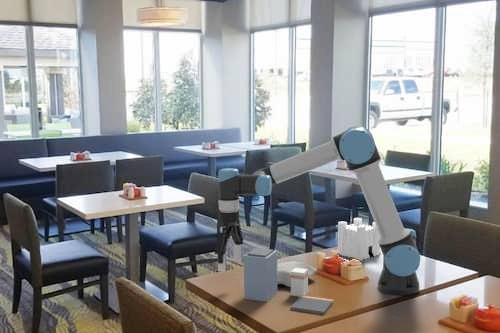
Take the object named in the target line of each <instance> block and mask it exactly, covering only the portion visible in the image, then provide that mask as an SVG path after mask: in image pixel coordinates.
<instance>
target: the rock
mask: <svg viewBox="0 0 500 333" xmlns="http://www.w3.org/2000/svg"><path fill="white" fill-rule="evenodd" d="M294 268H302V269H308V277H310V276H313V275H315V274H316V273H317V271H318V269H317V268H315V267H313V266H311V265H310V264H306V263H304V262H299V261H293V260H291V261H287V262H280V263H277V285H284V286H286V287H290V288H291V278H290V275H291V271H292V270H293V269H294Z"/></svg>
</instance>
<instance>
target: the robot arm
mask: <svg viewBox="0 0 500 333" xmlns="http://www.w3.org/2000/svg"><path fill="white" fill-rule="evenodd" d="M381 160H382V158H381V155H380V153H379V150H378V148H377V146H376V142H375V139H374V136H373V134H372V132H371V131H370V130H369V129H367V128H366V127H364V126H361V125H360V126H359V125H355V126H352V127H349V128H348V129H346V130H344V131H343V132H341V133H339V134H337V135H335V136H332V137H331V140H330V141H328V142H325V143H324V142H323V144H320V145H318V146H315V147H312V148H309V149H307V150H305V151H303V152H300V153H298V154H295V155H292V156H290V157H287V158H286V159H283V160H280V161H278V162H275V163H274V164H270V165H269V166H266V167H263V168H259V169H257V170H256V171H255V172H253V174H240V172H239V169H237V168H232V167H230V168H229V167H228V168H227V167H226V168H221V169H220V170H219V171H218V177H217V178H218V179H217V185H218V187H217V188H218V190H217V191H218V201H217V203H218V210H219V211H218V221H219V222H221V223H222V226H218V228H217V237H216V242H215V247H214V255H217V271H218V272H221V273H226V272H227V269H226V268H227V267H226V263H227V262H226V254H225V252H226V249H227V244H228V242H229V239H232V240H233V242H234V244H233V262H238V263H240V262H242V252H241V251H242V248H241V246H242V245H244V236H243V233H242V232H243V231H242V228H241V223H240V221H241V220H240V211H239V210H240V196H259V197H263V196H264V197H265V196H270V195H271V193H272V189H273V187H274V186H275V185H278V184H280V183H283V182H285V181H288V180H291V179H293V178H295V177H298V176H300V175H303V174H306V173H307V172H311V171H314V170H316V169H318V168H321V167H323V166H326V165H328V164H330V163H334V162H336V161H340V162H343V161H345V164H346V165H347V168H348V171H349V172H351V173H352V174H355V177H356V179H357V182H358V184H359V186H360V189H361V192H362V193H363V196H364V199H365V201H366V203H367V206H368V209H369V211H370V213H371V215H372V219H373V222H375V224H376V226H377V229H378V231H379V234H380V239H379V241H378V243H379V246H380V251H381V254H382V255H383V260H382V261H383V262H382V264H383V265H382V268H381V269H382V270H381V273H380V275H379V278H378V281H377V288H378V289H379V290H380V291H381V292H383V293H387V294H389V295H390V294H391V295H397V296H409V295H414V294H415V295H416V294H417V293H419V291H420V281H419V278H418V275H417V270H418V269H419V267H420V264H421V254H420V252H419V250H418V247H417V234H416V233H417V232H416V230H414V229H412V228H405V227H404V225H403V223H402V220H401V218H400V215H399V212H398V210H397V208H396V205H395V202H394V200H393V197H392V195H391V192H390V190H389V188H388V185H387V182H386V180H385V177H384V175H383V173H382V170H381V167H380V162H381Z"/></svg>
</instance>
